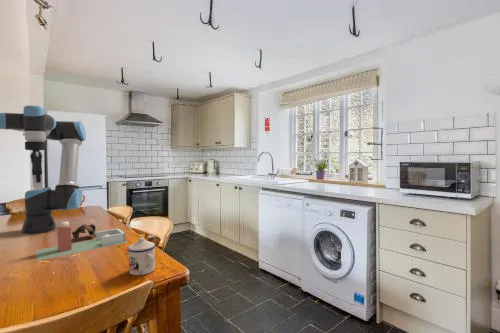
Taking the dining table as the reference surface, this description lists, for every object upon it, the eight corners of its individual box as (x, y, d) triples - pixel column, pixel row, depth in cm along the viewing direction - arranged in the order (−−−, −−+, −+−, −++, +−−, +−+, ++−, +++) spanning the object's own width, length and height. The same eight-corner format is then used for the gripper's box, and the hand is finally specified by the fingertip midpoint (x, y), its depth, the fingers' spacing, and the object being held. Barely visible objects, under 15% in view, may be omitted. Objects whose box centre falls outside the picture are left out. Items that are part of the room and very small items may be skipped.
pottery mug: (91, 242, 132) (80, 229, 130) (75, 250, 133) (65, 237, 131) (104, 229, 143) (94, 217, 141) (90, 237, 145) (80, 224, 143)
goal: (96, 240, 133) (96, 231, 133) (118, 235, 140) (118, 228, 140) (102, 246, 124) (102, 237, 124) (125, 241, 131) (125, 233, 131)
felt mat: (34, 250, 119) (34, 250, 119) (118, 235, 142) (118, 234, 142) (37, 261, 107) (37, 260, 107) (127, 242, 130) (127, 242, 130)
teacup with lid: (123, 271, 98) (122, 238, 97) (147, 263, 104) (147, 233, 104) (140, 281, 90) (139, 246, 89) (164, 272, 96) (164, 239, 96)
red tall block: (57, 249, 120) (56, 222, 120) (70, 247, 123) (69, 220, 123) (59, 252, 117) (58, 224, 116) (71, 249, 120) (70, 222, 119)
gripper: (23, 142, 129) (25, 187, 130) (25, 139, 110) (27, 192, 111) (43, 142, 134) (45, 185, 135) (48, 140, 115) (50, 190, 116)
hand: (37, 188), depth 123 cm, fingers open, 13 cm apart
